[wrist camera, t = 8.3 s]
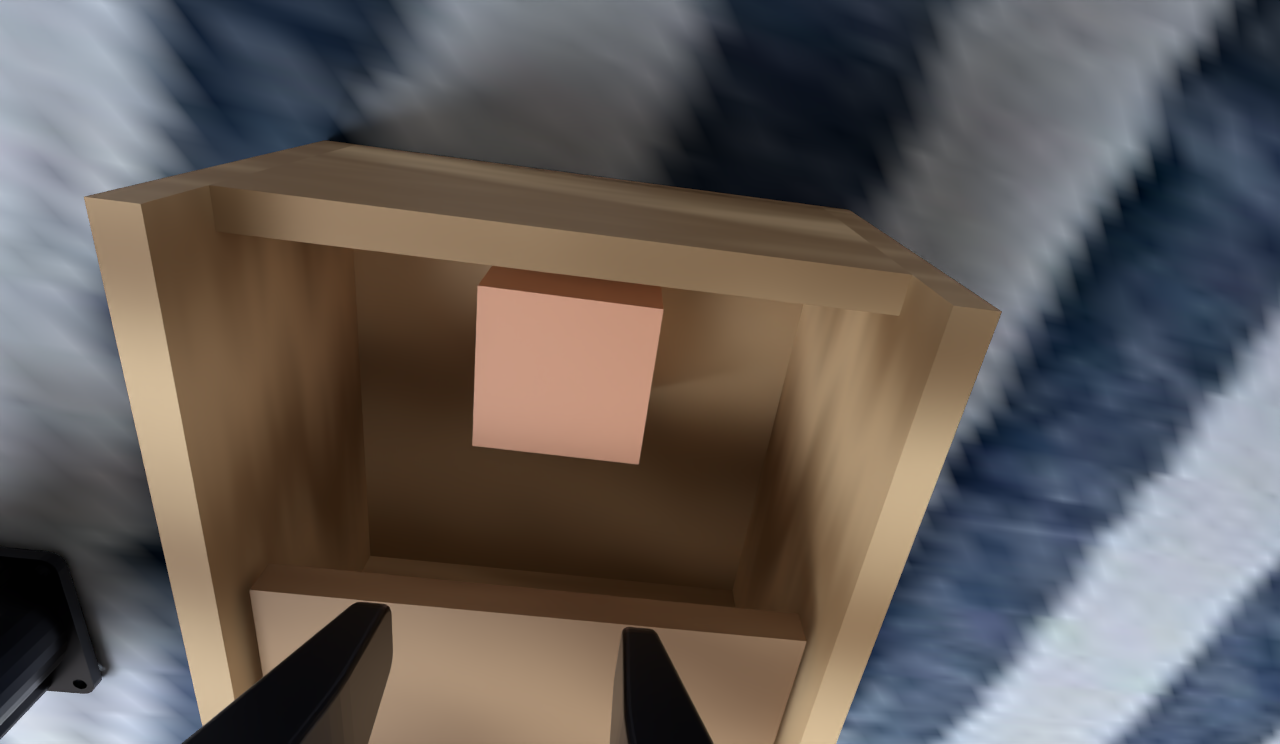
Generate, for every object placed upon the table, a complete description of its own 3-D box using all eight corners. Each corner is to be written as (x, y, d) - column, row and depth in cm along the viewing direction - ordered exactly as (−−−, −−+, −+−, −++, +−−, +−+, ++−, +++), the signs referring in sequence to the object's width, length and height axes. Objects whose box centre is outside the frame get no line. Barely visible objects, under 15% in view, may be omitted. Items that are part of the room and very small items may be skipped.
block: (637, 390, 19) (638, 464, 16) (503, 374, 19) (472, 445, 16) (658, 260, 18) (663, 309, 14) (510, 240, 18) (477, 285, 14)
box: (747, 597, 24) (798, 839, 16) (354, 559, 23) (218, 797, 15) (849, 209, 18) (1001, 311, 10) (325, 140, 17) (83, 196, 10)
